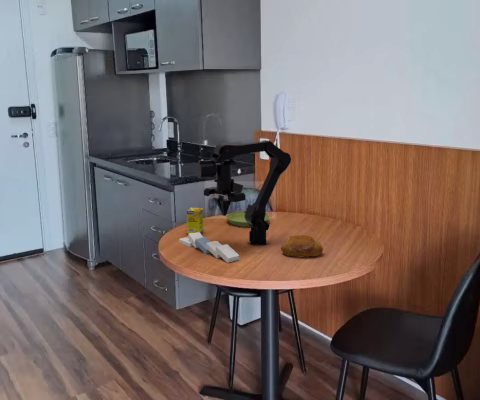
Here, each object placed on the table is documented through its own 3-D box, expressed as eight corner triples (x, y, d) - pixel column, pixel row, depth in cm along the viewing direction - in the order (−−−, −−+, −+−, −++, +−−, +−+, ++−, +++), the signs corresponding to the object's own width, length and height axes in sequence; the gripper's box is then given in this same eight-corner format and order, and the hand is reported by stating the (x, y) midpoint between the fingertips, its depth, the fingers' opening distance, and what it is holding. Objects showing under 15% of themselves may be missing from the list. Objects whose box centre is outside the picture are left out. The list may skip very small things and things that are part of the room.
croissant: (320, 265, 179) (324, 245, 176) (278, 257, 181) (282, 237, 179) (321, 252, 192) (325, 233, 190) (283, 245, 195) (286, 226, 193)
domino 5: (239, 255, 177) (227, 244, 183) (228, 258, 174) (216, 246, 180) (238, 260, 178) (226, 248, 183) (227, 262, 175) (215, 251, 180)
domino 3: (217, 247, 187) (205, 236, 192) (206, 249, 184) (195, 239, 189) (216, 251, 188) (205, 241, 193) (205, 254, 185) (194, 243, 190)
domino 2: (207, 242, 192) (199, 232, 198) (196, 244, 190) (188, 233, 196) (206, 246, 193) (198, 236, 199) (195, 248, 191) (187, 237, 197)
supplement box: (200, 235, 209) (199, 211, 207) (186, 234, 210) (186, 210, 208) (203, 231, 215) (203, 207, 212) (190, 231, 216) (190, 207, 213)
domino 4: (228, 251, 182) (217, 240, 187) (217, 253, 179) (206, 242, 184) (227, 255, 183) (216, 244, 188) (217, 258, 180) (205, 247, 185)
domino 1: (199, 241, 196) (189, 236, 202) (189, 243, 193) (178, 238, 199) (200, 245, 197) (189, 241, 203) (189, 248, 194) (179, 243, 200)
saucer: (219, 226, 224) (219, 219, 223) (234, 216, 243) (234, 209, 243) (262, 230, 218) (262, 223, 217) (274, 219, 237) (274, 213, 236)
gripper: (255, 176, 186) (255, 216, 189) (223, 171, 199) (224, 208, 202) (234, 180, 178) (234, 221, 182) (202, 174, 191) (203, 213, 195)
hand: (224, 215), depth 190 cm, fingers closed
